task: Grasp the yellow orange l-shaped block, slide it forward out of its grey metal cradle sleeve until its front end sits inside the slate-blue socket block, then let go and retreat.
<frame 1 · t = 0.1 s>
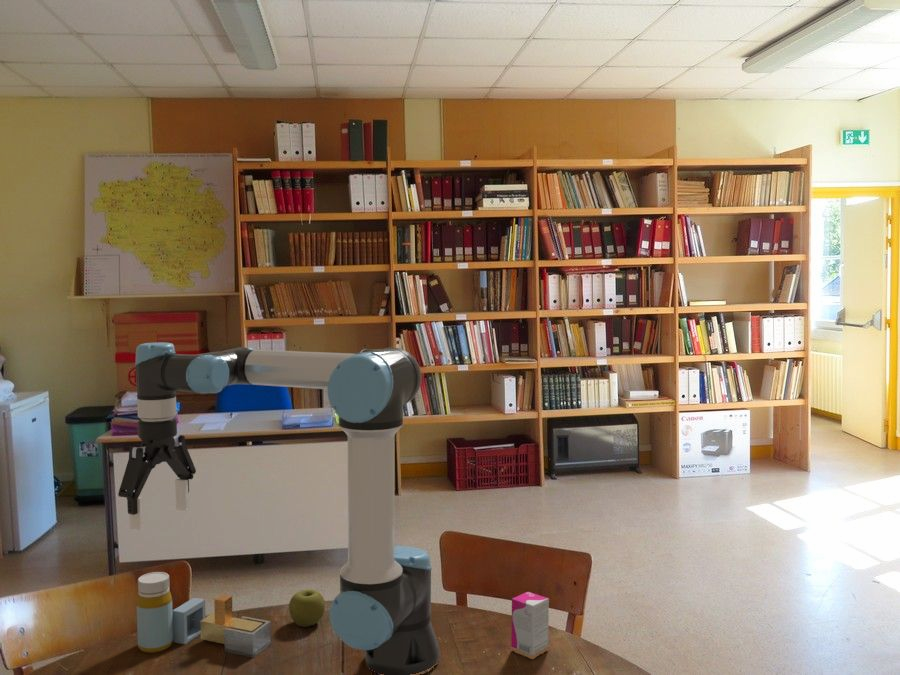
hand: (160, 519, 163), 28 cm above the table, fingers open, 13 cm apart
bottle: (155, 647, 167), on the table
sleeve: (248, 647, 166), on the table
yellow orange l-shaped block: (231, 619, 167), point 5 cm above the table, slide at 0.0 cm
supplement box: (529, 652, 165), on the table
socket block: (189, 636, 171), on the table
apple: (307, 624, 177), on the table
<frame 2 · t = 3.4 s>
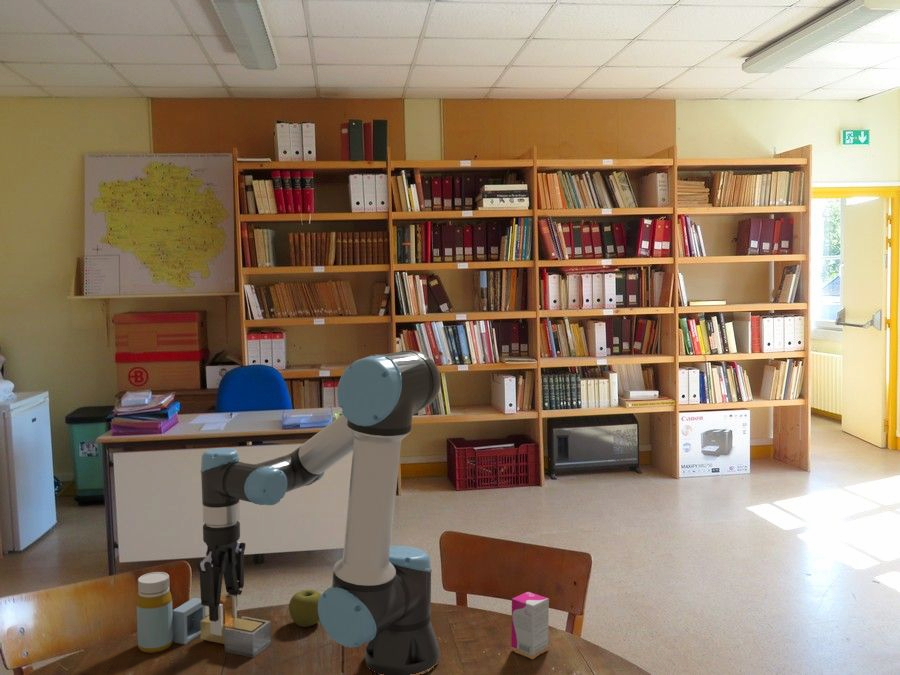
hand: (224, 628, 168), 3 cm above the table, fingers closed on yellow orange l-shaped block, 4 cm apart
yellow orange l-shaped block: (231, 619, 167), point 6 cm above the table, slide at 0.0 cm, touching gripper
everything else where it was.
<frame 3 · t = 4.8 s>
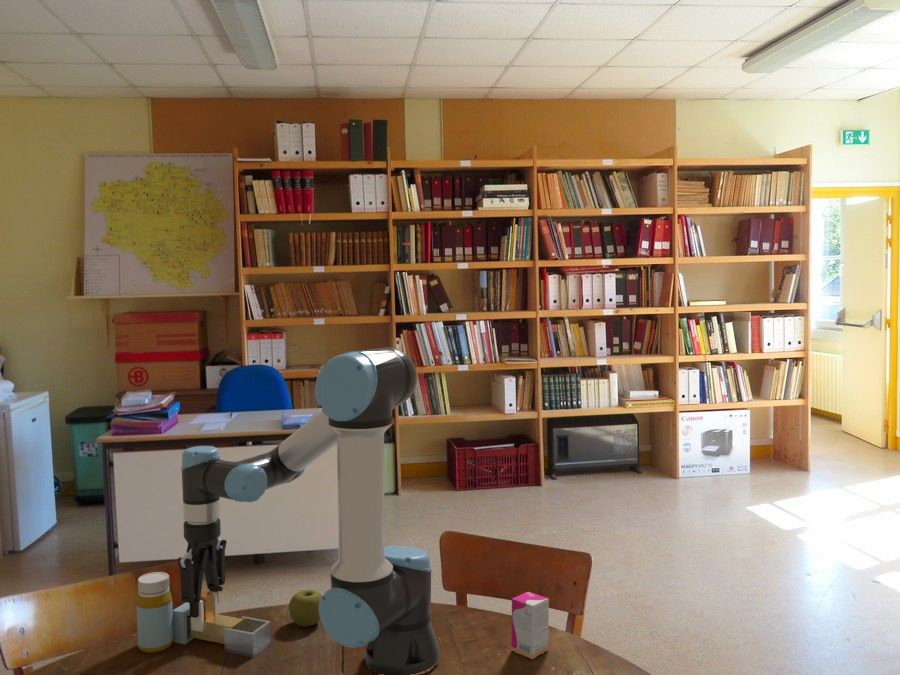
hand: (204, 625, 169), 3 cm above the table, fingers closed on yellow orange l-shaped block, 4 cm apart
yellow orange l-shaped block: (212, 616, 168), point 5 cm above the table, slide at 4.9 cm, touching gripper
everything else where it was.
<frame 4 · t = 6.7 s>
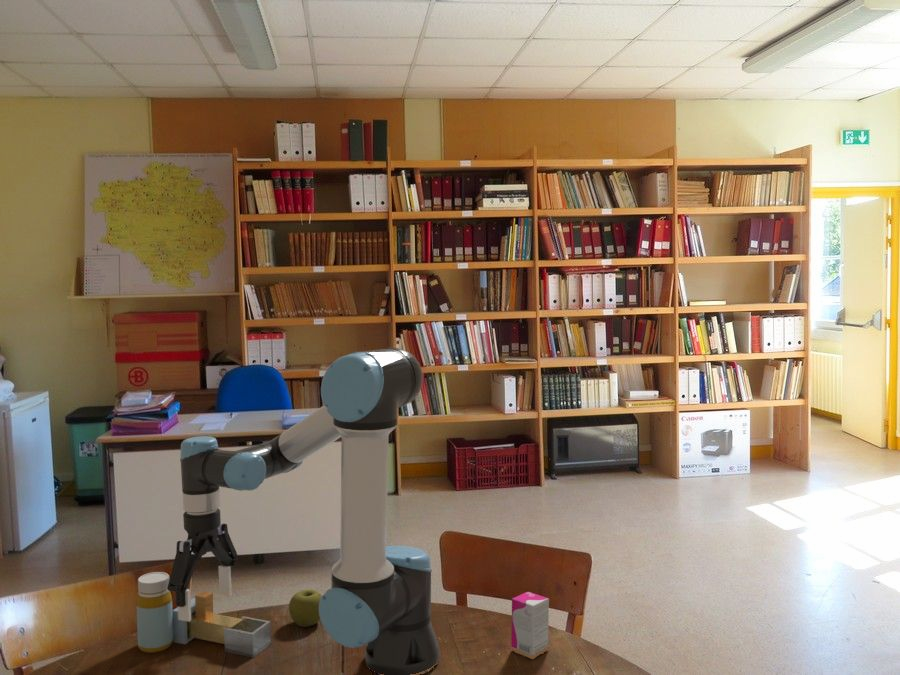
hand: (206, 607, 169), 7 cm above the table, fingers open, 13 cm apart
yellow orange l-shaped block: (212, 616, 168), point 5 cm above the table, slide at 5.0 cm
everything else where it was.
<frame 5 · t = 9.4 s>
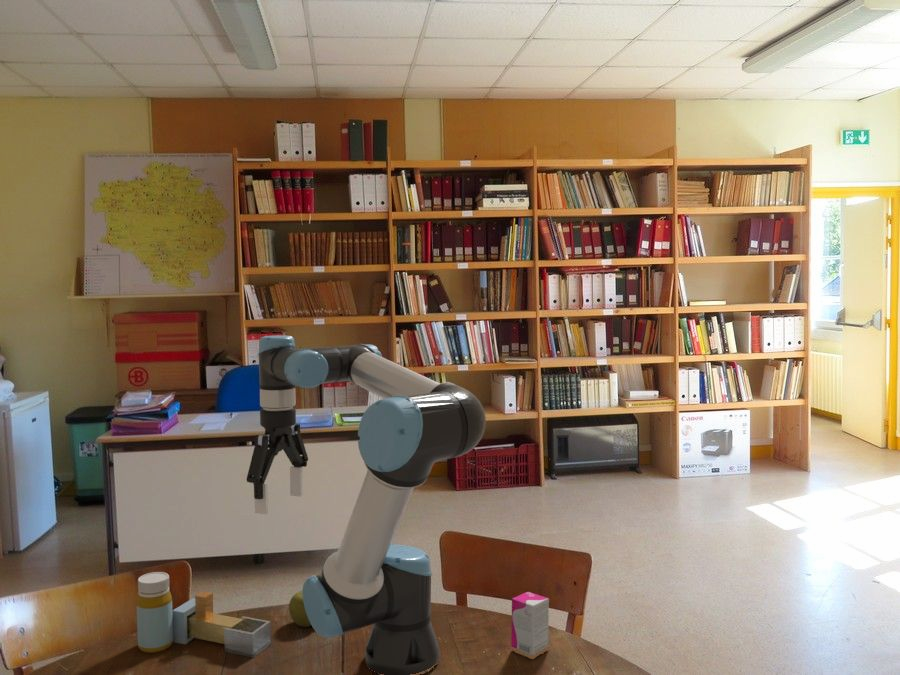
hand: (279, 504, 171), 29 cm above the table, fingers open, 13 cm apart
nothing on the table moved.
at the end: yellow orange l-shaped block slide at 5.0 cm; the gripper is holding nothing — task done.
